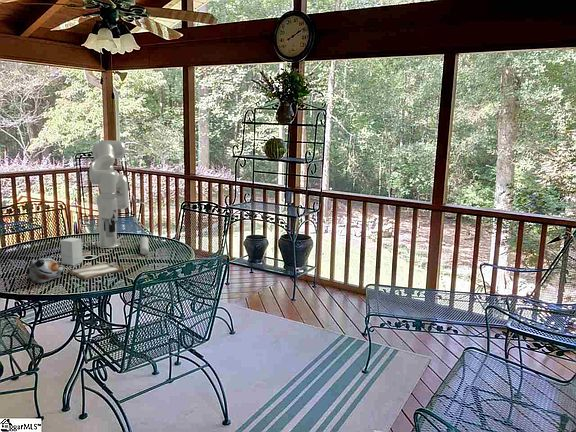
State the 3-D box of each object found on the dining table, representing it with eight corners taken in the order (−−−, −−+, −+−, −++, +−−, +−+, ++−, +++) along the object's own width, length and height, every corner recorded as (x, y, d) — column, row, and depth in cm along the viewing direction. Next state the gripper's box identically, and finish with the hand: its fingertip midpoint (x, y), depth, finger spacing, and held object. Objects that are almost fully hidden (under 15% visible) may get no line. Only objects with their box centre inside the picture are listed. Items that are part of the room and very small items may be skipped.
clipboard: (68, 272, 236) (68, 269, 236) (106, 264, 251) (106, 261, 251) (85, 280, 226) (85, 276, 226) (123, 271, 241) (123, 267, 241)
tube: (150, 248, 270) (150, 237, 294) (141, 246, 268) (141, 235, 292) (147, 257, 271) (147, 246, 294) (138, 255, 269) (138, 243, 292)
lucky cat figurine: (62, 274, 233) (68, 252, 227) (57, 291, 224) (62, 269, 217) (29, 267, 228) (34, 244, 222) (21, 284, 218) (26, 261, 212)
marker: (103, 236, 248) (103, 212, 246) (111, 235, 251) (110, 211, 249) (108, 237, 245) (107, 213, 243) (115, 236, 249) (115, 212, 247)
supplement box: (83, 262, 254) (82, 238, 251) (72, 265, 247) (71, 241, 244) (71, 260, 256) (70, 237, 254) (61, 263, 249) (60, 240, 247)
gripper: (92, 194, 247) (94, 229, 250) (111, 198, 237) (112, 235, 240) (106, 193, 253) (107, 227, 256) (124, 197, 242) (125, 232, 246)
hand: (109, 231), depth 248 cm, fingers closed on marker, 4 cm apart
